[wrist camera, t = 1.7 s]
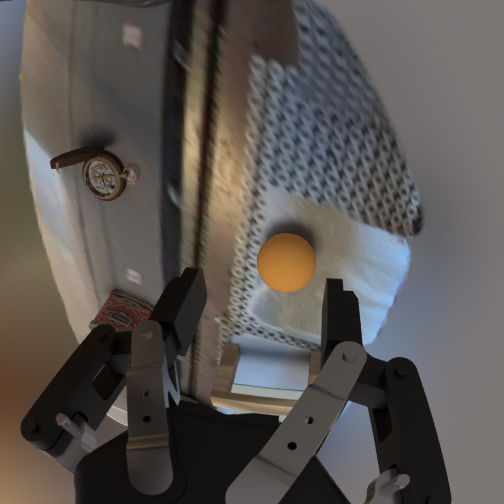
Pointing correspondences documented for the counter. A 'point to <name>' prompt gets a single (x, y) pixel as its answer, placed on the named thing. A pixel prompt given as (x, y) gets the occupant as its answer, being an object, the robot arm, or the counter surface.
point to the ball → (286, 262)
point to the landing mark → (265, 394)
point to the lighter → (122, 311)
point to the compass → (97, 170)
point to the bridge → (251, 403)
